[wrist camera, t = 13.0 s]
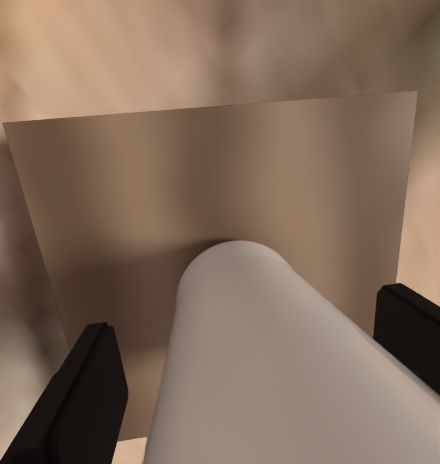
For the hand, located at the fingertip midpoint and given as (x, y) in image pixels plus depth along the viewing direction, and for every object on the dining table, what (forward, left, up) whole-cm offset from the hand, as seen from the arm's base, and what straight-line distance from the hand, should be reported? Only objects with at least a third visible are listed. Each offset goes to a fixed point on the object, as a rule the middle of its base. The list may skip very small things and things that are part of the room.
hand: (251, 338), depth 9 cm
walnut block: (0, 0, -7) cm, 7 cm away
